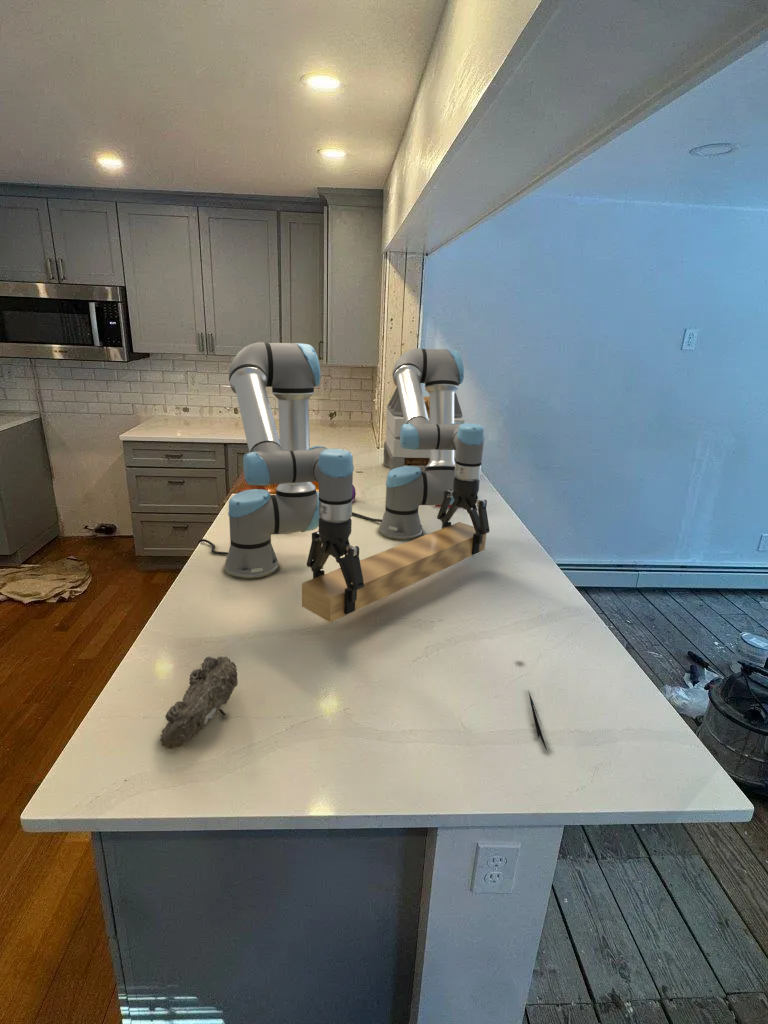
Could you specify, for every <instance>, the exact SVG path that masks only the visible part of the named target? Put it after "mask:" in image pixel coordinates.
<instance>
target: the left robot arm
mask: <svg viewBox="0 0 768 1024" xmlns="http://www.w3.org/2000/svg"><path fill="white" fill-rule="evenodd" d="M321 378H322V377H321V366H320V361H319V357H318V355H317V352H316V349H315V348H314V346H312V345H311V344H308V343H301V342H253V343H250V344H248V345H246V346H244V347H243V348H242V349H240V350H239V352H238V353H236V355H235V356H234V357H233V359H232V361H231V364H230V366H229V370H228V381H229V382H228V383H229V386H230V389H231V391H232V392H233V393H234V394H235V396H236V399H237V403H238V409H239V413H240V416H241V421H242V425H243V429H244V434H245V439H246V444H247V448H248V452H246V453H244V455H243V457H242V470H243V476H244V481H245V482H246V484H247V485H249V486H264V487H266V486H270V485H277V486H275V494H271V493H270V491H268V490H267V489H263V488H260V489H259V488H253V489H246V490H243V491H240V492H237V493H235V494H234V495H232V496H231V498H230V499H229V501H228V512H227V515H228V518H229V519H228V520H229V521H228V522H229V540H230V541H229V542H230V545H229V549H228V551H218V550H215V549H216V545H215V544H214V543H213V542H212V541H210V540H208V539H205V538H201V539H199V540H198V541H197V543H202V542H204V543H207V544H209V546H211V553H213V554H215V555H225V556H226V559H225V561H224V562H225V563H224V564H225V565H224V569H225V572H226V574H227V575H229V576H231V577H233V578H237V579H244V580H253V579H261V578H266V577H267V576H270V575H272V574H274V573H275V572H277V570H278V567H279V561H278V558H277V554H276V552H275V550H274V549H275V548H274V547H273V545H272V535H282V534H289V533H290V534H292V533H305V532H309V531H314V530H317V529H318V530H317V531H314V532H312V533H311V544H310V547H309V552H308V556H307V560H306V567H307V568H310V570H311V572H312V579H314V578H316V577H319V576H321V575H324V574H326V573H325V570H324V567H325V564H326V562H327V560H328V558H329V557H330V556H332V557H333V558H334V560H335V562H336V563H337V564H338V566H339V568H341V571H342V574H343V576H344V579H345V582H346V585H347V588H346V589H345V607H344V614H346V615H345V616H347V615H350V614H352V613H354V612H356V611H355V601H356V600H357V590H358V589H361V588H363V587H364V581H363V576H362V570H361V565H360V560H361V559H360V547H359V546H358V545H355V546H353V545H351V543H350V540H349V538H350V536H351V534H352V522H353V520H352V516H353V515H352V512H353V502H352V484H353V480H354V479H353V478H354V458H353V454H352V452H351V451H349V450H347V449H343V448H328V447H326V446H323V445H313V446H311V441H310V440H311V438H310V437H311V436H310V435H311V434H310V398H311V397H312V396H313V395H314V394H315V388H316V387H319V386H320V384H321ZM269 387H270V388H271V390H272V392H271V393H272V395H274V396H275V398H277V405H278V406H277V407H278V408H277V409H278V410H277V411H278V429H277V425H276V422H275V419H274V415H273V411H272V408H271V404H270V400H269V397H268V396H269V395H268V392H267V388H269ZM313 482H315V483H318V490H317V487H316V485H315V484H314V483H313ZM343 556H344V557H343ZM351 583H352V584H351Z"/></svg>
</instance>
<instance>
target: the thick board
mask: <svg viewBox="0 0 768 1024" xmlns="http://www.w3.org/2000/svg"><path fill="white" fill-rule="evenodd" d="M475 533H476V531H475V529H474V526H473V525H471V524H467V523H464V522H461V521H458V522H455V523H453V524H451V525H450V526H447V527H445V528H442V527H441V529H437V530H435V531H432V532H430V533H427V534H424V535H421V536H420V537H418V538H415V539H411V540H408V541H406V542H404V543H402V544H399V545H396V546H393V547H391V548H388V549H386V550H384V551H380V552H379V553H376V554H373V555H371V556H368V557H365V558H363V559H359V560H360V565H361V570H362V576H363V581H364V587H363V588H361V589H358V590H357V600H356V601H355V611H354V612H357V611H358V610H361V609H362V608H364V607H366V606H368V605H371V604H373V603H375V602H377V601H379V600H382V599H384V598H385V597H388V596H390V595H392V594H394V593H396V592H399V591H400V590H403V589H405V588H406V587H409V586H411V585H413V584H415V583H417V582H419V581H421V580H423V579H425V578H428V577H430V576H433V575H435V574H437V573H438V572H441V571H443V570H445V569H447V568H449V567H451V566H454V565H456V564H458V563H460V562H462V561H465V560H466V559H468V558H470V557H473V556H474V555H472V545H473V535H474V534H475ZM486 539H487V533H486V534H484V535H483V539H482V544H480V546H479V553H481V552H483V551H485V548H486ZM351 584H352V583H351ZM346 588H347V585H346V582H345V579H344V576H343V574H342V571H341V568H340V567H339V568H337V569H334V570H331V571H330V572H327V573H325V574H324V575H321V576H319V577H316V578H314V579H313V578H311V579H309V580H306V581H304V582H301V607H302V608H304V609H306V610H307V611H309V612H311V613H313V614H314V615H316V616H318V617H320V618H321V619H323V620H324V621H326V622H328V623H333V622H334V621H337V620H339V619H341V618H343V617H345V616H347V615H346V614H344V607H345V589H346Z"/></svg>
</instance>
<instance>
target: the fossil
mask: <svg viewBox="0 0 768 1024" xmlns="http://www.w3.org/2000/svg"><path fill="white" fill-rule="evenodd" d="M237 667H238V666H237V665H236V663H235V662H234V661H231V659H230V658H229V657H228V656H218V657H217V658H216V657H212V656H206V657H205V658H204V659H203V662H202V663H201V667H200V668H199V667H198V668H195V669H193V670H192V671H191V672H190V674H189V679H188V680H189V682H188V683H189V686H188V687H187V690H186V691H185V694H184V695H183V697H182V701H181V700H180V701H176V702H175V703H174V705H171V706H170V708H169V709H168V710H167V712H166V714H165V715H164V718H165V720H166V721H167V723H166V724H165V727H164V728H162V729H161V734H160V742H161V746H163V747H166V748H167V749H175V748H180V747H183V748H184V747H186V746H187V745H189V743H190V742H191V741H192V740H193V739H195V738H197V736H198V735H199V734H200V733H201V732H202V731H204V730H205V728H207V727H208V725H210V724H211V722H212V721H213V718H214V717H215V716H216V715H218V713H220V714H221V715H222V716H223V717H225V716H226V712H224V710H222V706H223V705H226V704H227V703H228V701H229V700H230V699H231V695H232V694H233V692H234V690H235V688H236V687H238V684H239V681H238V671H237V670H238V668H237Z"/></svg>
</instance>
